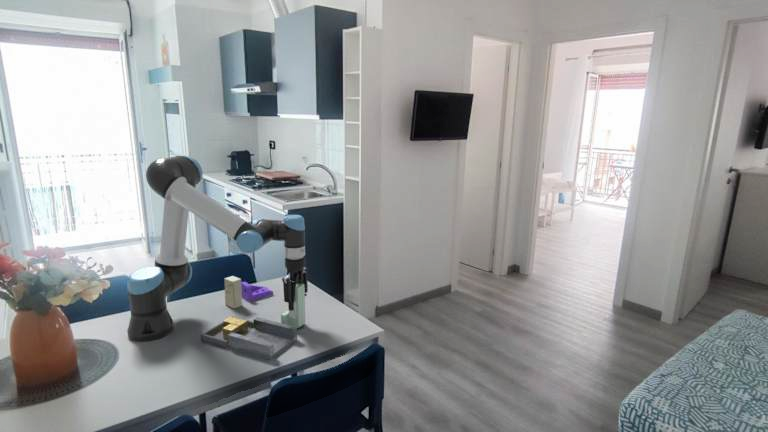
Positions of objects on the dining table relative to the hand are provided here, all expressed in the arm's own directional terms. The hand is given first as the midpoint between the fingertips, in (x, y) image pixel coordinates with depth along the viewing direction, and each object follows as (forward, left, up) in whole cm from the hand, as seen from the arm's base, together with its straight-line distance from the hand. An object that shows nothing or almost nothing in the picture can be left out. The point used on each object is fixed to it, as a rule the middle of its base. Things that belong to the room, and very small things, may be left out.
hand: (296, 314), depth 166 cm
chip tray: (-18, -16, -5) cm, 25 cm away
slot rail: (-3, -16, -5) cm, 17 cm away
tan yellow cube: (-16, -14, -4) cm, 21 cm away
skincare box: (-35, +4, -5) cm, 36 cm away
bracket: (-33, +17, -6) cm, 38 cm away
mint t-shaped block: (0, 0, -4) cm, 4 cm away
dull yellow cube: (-20, -14, -4) cm, 24 cm away
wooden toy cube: (-16, -18, -4) cm, 24 cm away
